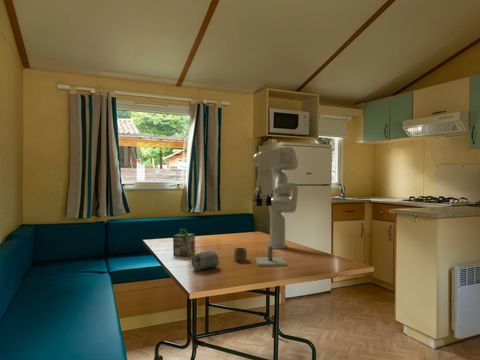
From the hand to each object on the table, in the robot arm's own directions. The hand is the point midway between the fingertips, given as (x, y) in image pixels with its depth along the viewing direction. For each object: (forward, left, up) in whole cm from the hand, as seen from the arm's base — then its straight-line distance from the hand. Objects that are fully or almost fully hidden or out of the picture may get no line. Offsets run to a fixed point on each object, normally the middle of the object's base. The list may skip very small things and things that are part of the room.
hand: (264, 205), depth 186 cm
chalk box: (-12, -44, -29) cm, 54 cm away
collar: (+4, -13, -29) cm, 32 cm away
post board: (+10, +2, -29) cm, 30 cm away
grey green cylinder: (+20, -31, -29) cm, 47 cm away
